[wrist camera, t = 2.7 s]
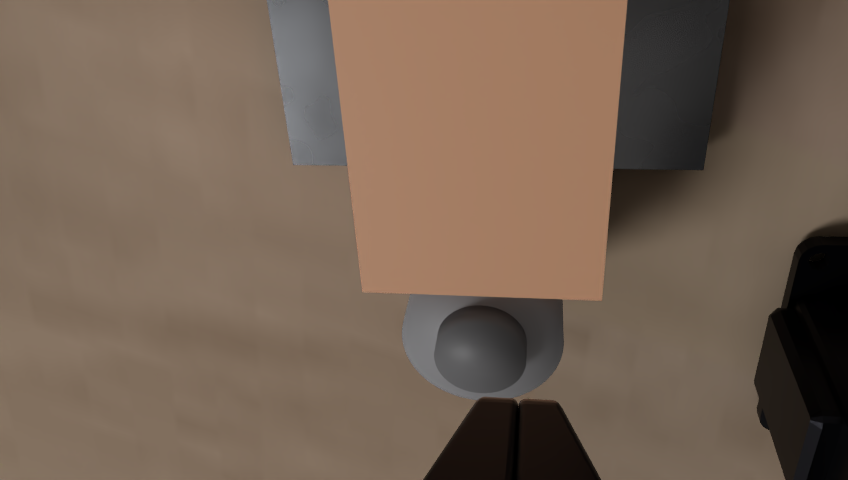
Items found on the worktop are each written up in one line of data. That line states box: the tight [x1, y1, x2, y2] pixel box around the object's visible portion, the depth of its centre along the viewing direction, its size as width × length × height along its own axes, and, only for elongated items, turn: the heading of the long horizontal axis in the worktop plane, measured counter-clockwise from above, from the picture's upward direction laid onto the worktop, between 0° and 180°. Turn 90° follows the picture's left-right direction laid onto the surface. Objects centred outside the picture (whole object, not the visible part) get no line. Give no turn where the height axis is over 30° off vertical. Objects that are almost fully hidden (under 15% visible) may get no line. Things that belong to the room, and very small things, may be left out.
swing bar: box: [328, 0, 627, 400], centre depth 15 cm, size 16×5×5 cm, turn 3°
